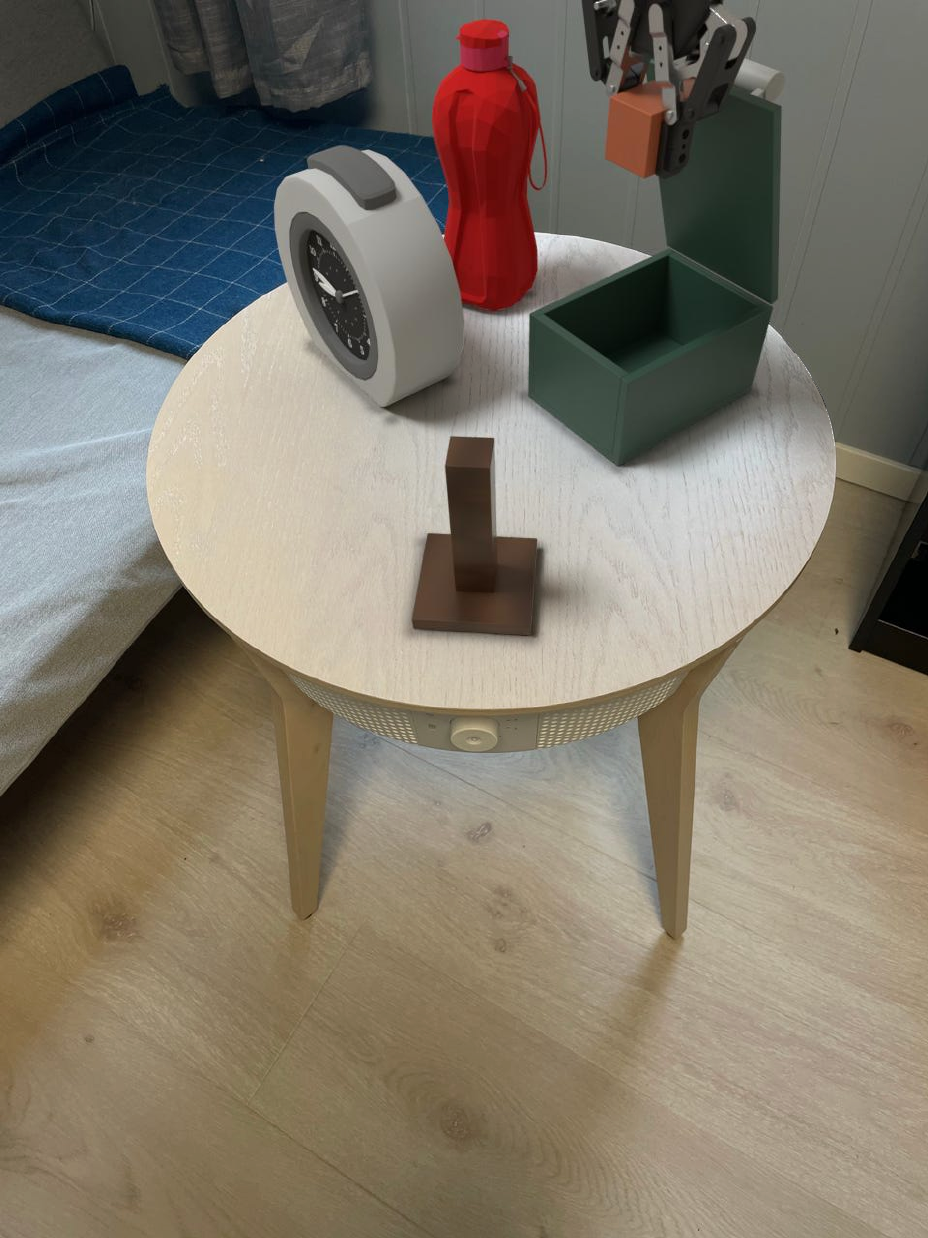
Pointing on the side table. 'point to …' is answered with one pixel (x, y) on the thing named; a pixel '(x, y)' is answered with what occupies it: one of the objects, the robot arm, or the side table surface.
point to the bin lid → (732, 185)
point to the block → (635, 128)
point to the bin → (645, 353)
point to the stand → (475, 555)
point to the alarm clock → (370, 272)
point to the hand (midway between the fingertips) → (645, 161)
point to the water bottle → (488, 167)
